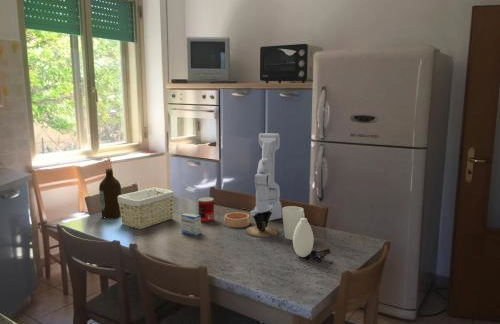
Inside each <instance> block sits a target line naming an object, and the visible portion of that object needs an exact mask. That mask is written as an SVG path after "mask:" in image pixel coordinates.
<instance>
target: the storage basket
mask: <svg viewBox="0 0 500 324" xmlns="http://www.w3.org/2000/svg"><path fill="white" fill-rule="evenodd" d="M117 198H118V203H119V208H120V212H121V213H120V214H121V216H120V218H121V224H122V225H123V224H124V226H126V225H127V227H129V228H133V227H135V228H134V229H136V228H138V229H137V230H142V229H147V228H149V227H151V226H154V225H157V224H161V223H164V222H166V221H169V220H172V219H174V218H173V217H174V203H175V202H174V200H175V192H174V190H171V189H165V188H161V187H154V186H153V187H151V188H150V187H149V188H146V189H141V190H138V191H134V192H128V193H123V194H121V195H119V196H118V197H117Z"/></svg>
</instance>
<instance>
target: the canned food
mask: <svg viewBox="0 0 500 324" xmlns="http://www.w3.org/2000/svg"><path fill="white" fill-rule="evenodd" d="M197 200H198V215H201V223H212V222H213V221H214V219H215V199H214V197H210V196H209V197H208V196H205V197H200V198H198V199H197Z"/></svg>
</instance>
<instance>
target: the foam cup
mask: <svg viewBox="0 0 500 324" xmlns="http://www.w3.org/2000/svg"><path fill="white" fill-rule="evenodd" d="M304 211H305V210H304V208H303V207H300V206H296V205H295V206H293V205H292V206H291V205H288V206H284V207H281V216H282V222H283V231H284V238H285V239H287V240H291V241H293V235H294V231H295V228H296V226H297V224H298V223H299V222H300V219H301V218H303V213H304V214H305V212H304Z"/></svg>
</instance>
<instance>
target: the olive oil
mask: <svg viewBox="0 0 500 324" xmlns="http://www.w3.org/2000/svg"><path fill="white" fill-rule="evenodd" d="M98 193H99V199H100V211H101V218H102V217H105V218H114V219H116V218H115V217H118V218H120V217H121V214H120V213H121V212H120V208H119V203H118V198H117V197H118V196H119V195H122V185H121V183H120V181H119V179H117V178H116V177H115V176H114V171H113V168H106V169H105V177H104V178H103V179H102V180H101V181H100V183H99V187H98ZM119 216H120V217H119Z"/></svg>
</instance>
